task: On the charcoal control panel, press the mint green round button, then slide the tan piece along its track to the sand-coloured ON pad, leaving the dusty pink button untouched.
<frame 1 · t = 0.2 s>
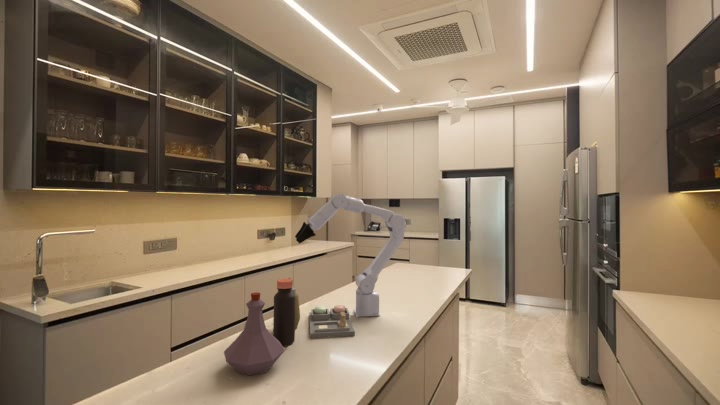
hand: (297, 240, 129), 31 cm above the countertop, tool tilted 45°, fingers open, 7 cm apart
flask: (254, 367, 90), on the countertop
pink button: (339, 309, 127), point 4 cm above the countertop, slide at 0.0 cm
tan piece: (342, 319, 116), point 4 cm above the countertop, slide at 0.0 cm
vinegar: (283, 342, 105), on the countertop
panel: (330, 325, 121), on the countertop
squeeze bottle: (288, 328, 117), on the countertop
mint button: (320, 310, 125), point 4 cm above the countertop, slide at 0.0 cm
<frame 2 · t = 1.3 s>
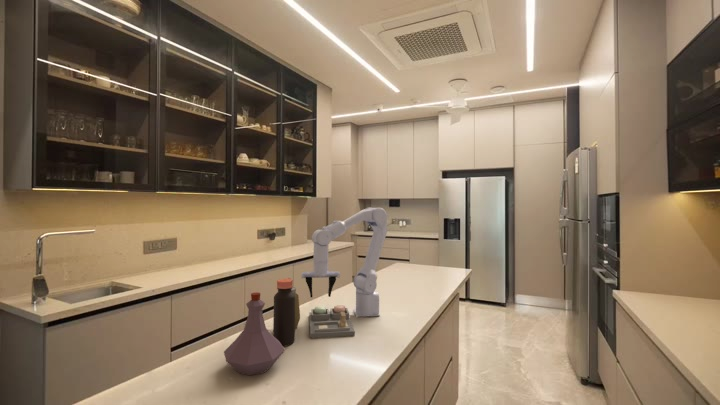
hand: (320, 296, 125), 9 cm above the countertop, tool pointing down, fingers open, 6 cm apart
nothing on the countertop moved.
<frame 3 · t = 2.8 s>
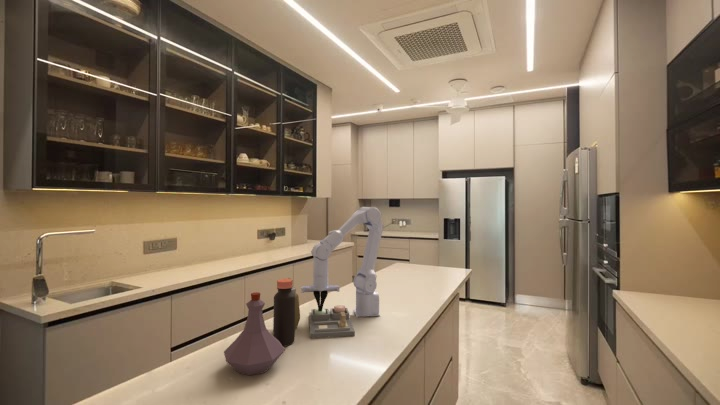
hand: (320, 310, 125), 4 cm above the countertop, tool pointing down, fingers closed, pressing on mint button
mint button: (320, 312, 125), point 3 cm above the countertop, slide at 1.0 cm, touching gripper
everything else where it was.
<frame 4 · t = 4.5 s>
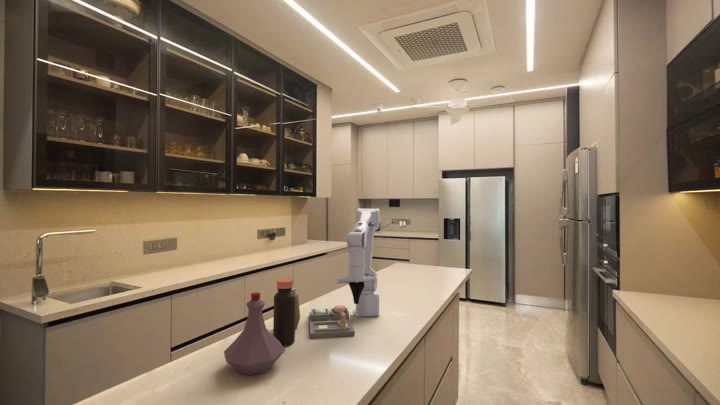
hand: (356, 303, 117), 9 cm above the countertop, tool pointing down, fingers closed
mint button: (320, 313, 125), point 3 cm above the countertop, slide at 1.0 cm
everything else where it was.
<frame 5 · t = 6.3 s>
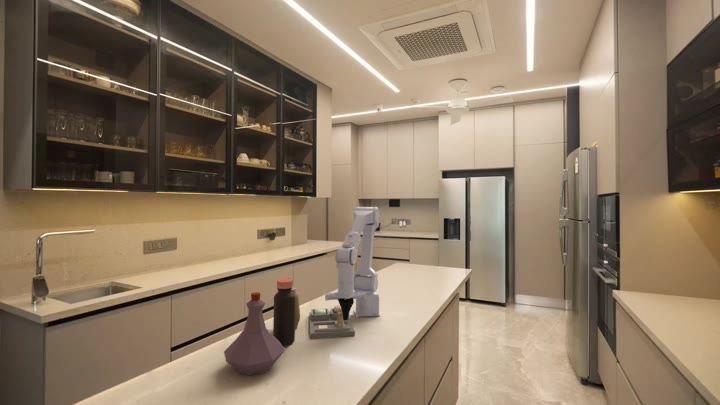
hand: (345, 319, 116), 4 cm above the countertop, tool pointing down, fingers closed
tan piece: (339, 319, 116), point 4 cm above the countertop, slide at 1.1 cm, touching gripper
everything else where it was.
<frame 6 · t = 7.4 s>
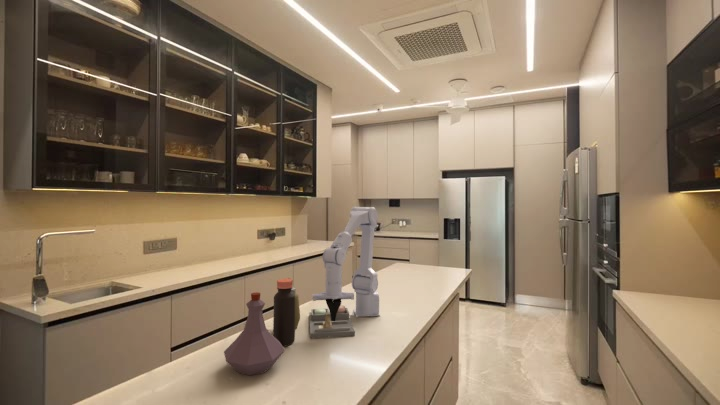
hand: (333, 320, 115), 4 cm above the countertop, tool pointing down, fingers closed
tan piece: (327, 320, 115), point 4 cm above the countertop, slide at 5.4 cm, touching gripper
everything else where it was.
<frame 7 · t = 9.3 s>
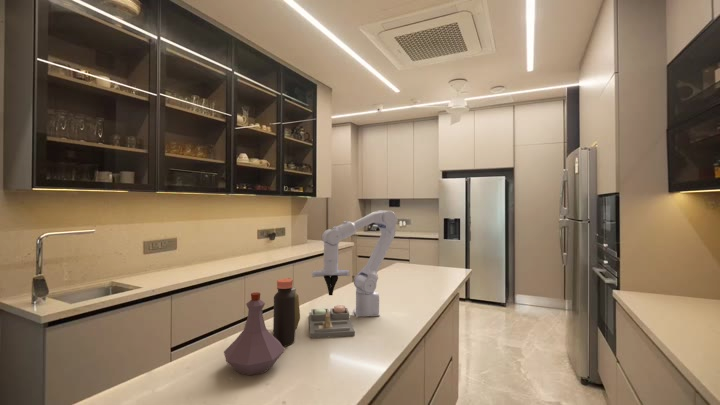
hand: (330, 294, 128), 9 cm above the countertop, tool pointing down, fingers closed
tan piece: (327, 320, 115), point 4 cm above the countertop, slide at 5.4 cm
everything else where it was.
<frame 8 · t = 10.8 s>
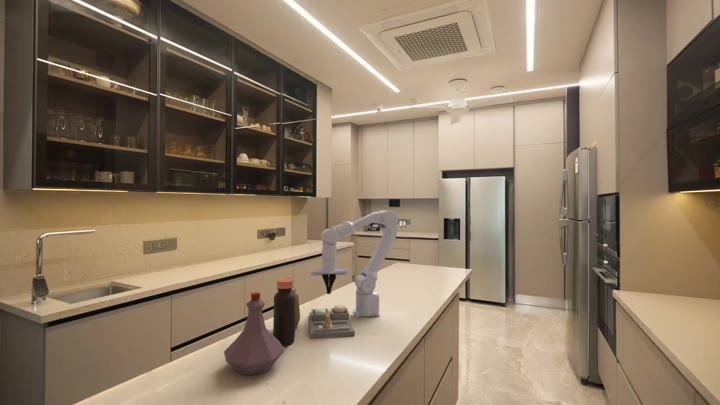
hand: (328, 293, 130), 9 cm above the countertop, tool pointing down, fingers closed
nothing on the countertop moved.
at the end: mint button slide at 1.0 cm; tan piece slide at 5.4 cm; pink button slide at 0.0 cm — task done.
